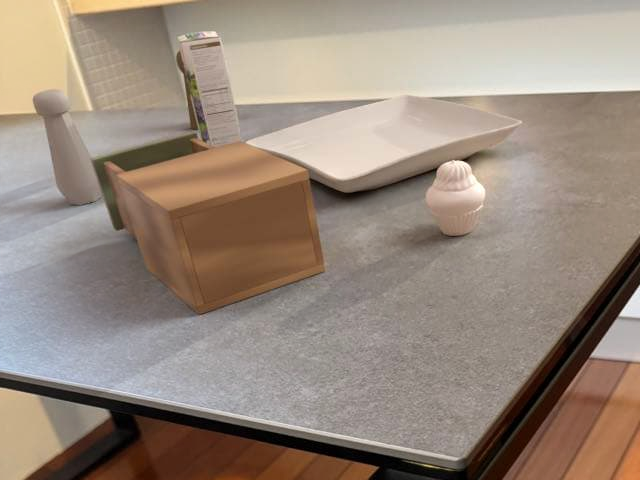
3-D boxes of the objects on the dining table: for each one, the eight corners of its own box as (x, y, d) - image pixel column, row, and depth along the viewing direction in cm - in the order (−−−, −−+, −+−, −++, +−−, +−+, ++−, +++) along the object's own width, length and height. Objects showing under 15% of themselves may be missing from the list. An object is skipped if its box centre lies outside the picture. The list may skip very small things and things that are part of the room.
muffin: (499, 225, 84) (496, 154, 80) (460, 245, 81) (455, 173, 77) (455, 216, 88) (450, 147, 83) (416, 234, 85) (409, 164, 80)
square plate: (408, 119, 121) (406, 90, 118) (526, 151, 103) (526, 117, 100) (246, 166, 111) (239, 136, 109) (344, 211, 93) (338, 176, 90)
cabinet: (146, 268, 86) (115, 174, 80) (261, 232, 91) (240, 140, 84) (199, 315, 75) (168, 210, 69) (325, 271, 80) (307, 169, 74)
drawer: (101, 218, 98) (78, 150, 93) (196, 191, 102) (178, 124, 97) (153, 262, 85) (128, 185, 80) (259, 228, 89) (242, 153, 84)
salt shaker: (84, 208, 105) (44, 97, 96) (54, 205, 107) (13, 97, 99) (116, 193, 108) (80, 85, 100) (87, 191, 111) (49, 85, 102)
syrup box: (201, 146, 122) (173, 35, 113) (240, 139, 123) (215, 28, 114) (206, 156, 118) (177, 41, 108) (246, 148, 119) (220, 33, 109)
